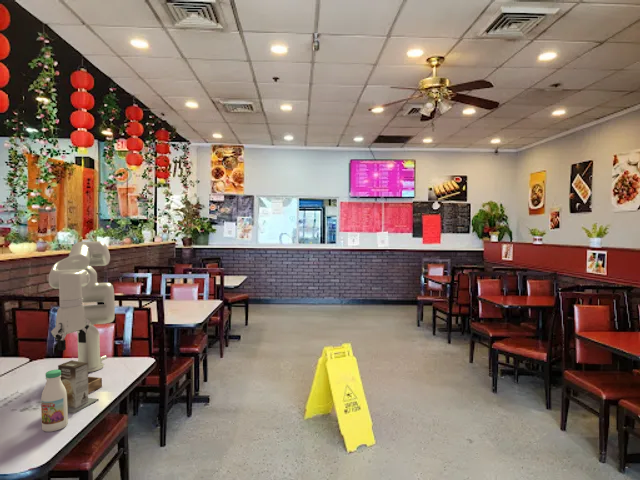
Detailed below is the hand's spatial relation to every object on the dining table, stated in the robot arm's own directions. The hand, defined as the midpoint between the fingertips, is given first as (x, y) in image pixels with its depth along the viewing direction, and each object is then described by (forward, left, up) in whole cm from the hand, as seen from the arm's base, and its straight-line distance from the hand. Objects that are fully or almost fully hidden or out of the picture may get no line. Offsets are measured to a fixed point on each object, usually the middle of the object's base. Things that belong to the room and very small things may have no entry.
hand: (72, 346), depth 162 cm
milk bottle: (+16, +8, -24) cm, 30 cm away
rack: (-13, -10, -24) cm, 29 cm away
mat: (0, 0, -24) cm, 24 cm away
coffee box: (0, 0, -23) cm, 23 cm away
